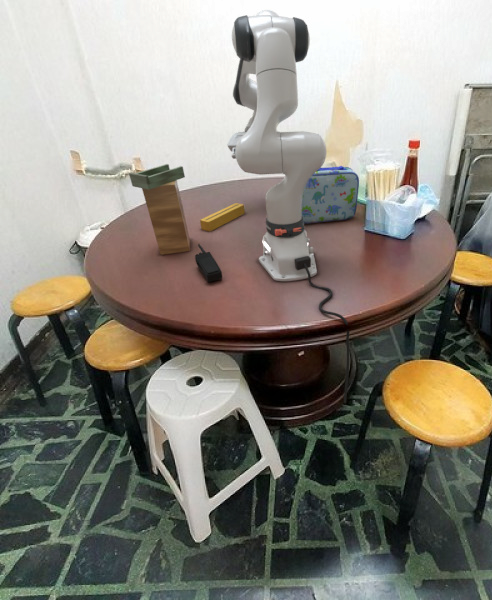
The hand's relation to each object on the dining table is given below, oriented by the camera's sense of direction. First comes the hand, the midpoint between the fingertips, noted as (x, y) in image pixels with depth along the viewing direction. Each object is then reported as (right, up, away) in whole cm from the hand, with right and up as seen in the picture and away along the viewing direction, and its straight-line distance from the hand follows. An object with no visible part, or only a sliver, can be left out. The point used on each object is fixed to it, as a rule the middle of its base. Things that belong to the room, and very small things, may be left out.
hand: (242, 157), depth 140 cm
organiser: (-22, -38, -13) cm, 46 cm away
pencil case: (-9, -24, +6) cm, 26 cm away
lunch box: (+33, -23, +6) cm, 41 cm away
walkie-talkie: (-8, -47, -27) cm, 55 cm away
